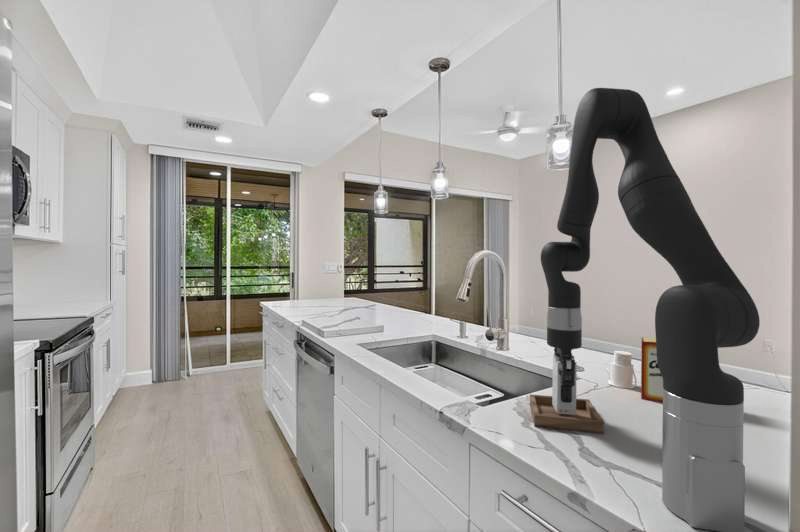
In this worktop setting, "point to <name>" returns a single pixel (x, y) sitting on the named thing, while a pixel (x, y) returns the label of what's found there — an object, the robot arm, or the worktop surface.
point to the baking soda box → (650, 371)
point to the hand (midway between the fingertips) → (563, 396)
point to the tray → (566, 415)
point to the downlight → (621, 370)
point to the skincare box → (556, 391)
